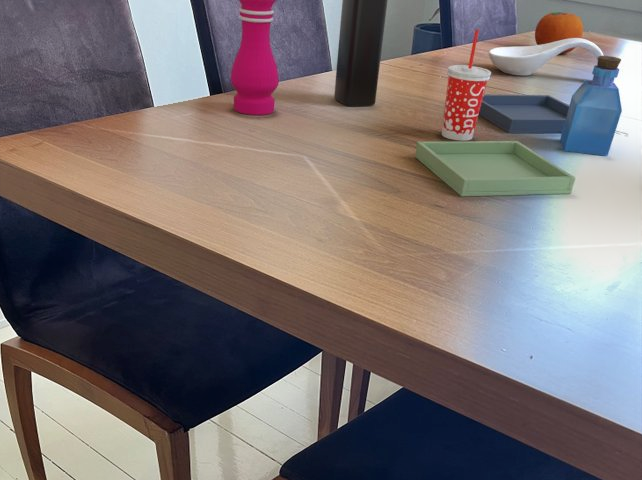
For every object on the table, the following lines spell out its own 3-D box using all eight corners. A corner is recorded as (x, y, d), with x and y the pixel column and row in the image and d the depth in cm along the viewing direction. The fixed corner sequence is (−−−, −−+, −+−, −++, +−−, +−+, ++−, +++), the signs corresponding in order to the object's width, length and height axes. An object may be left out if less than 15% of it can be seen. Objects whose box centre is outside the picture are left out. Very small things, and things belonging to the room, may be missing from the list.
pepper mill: (237, 101, 116) (239, -51, 103) (282, 107, 115) (289, -46, 103) (224, 112, 110) (224, -47, 98) (271, 118, 109) (277, -42, 97)
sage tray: (514, 155, 103) (517, 140, 102) (571, 193, 92) (575, 177, 91) (414, 156, 100) (417, 141, 98) (461, 196, 88) (464, 179, 87)
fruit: (575, 51, 175) (585, 12, 170) (578, 59, 167) (589, 19, 162) (530, 45, 176) (539, 7, 171) (531, 53, 168) (540, 13, 163)
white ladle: (484, 74, 146) (493, 34, 141) (485, 63, 155) (493, 25, 150) (606, 89, 143) (618, 48, 139) (599, 77, 152) (610, 38, 148)
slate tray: (545, 107, 128) (549, 95, 126) (594, 132, 116) (598, 119, 115) (466, 107, 124) (469, 94, 123) (508, 133, 112) (511, 119, 111)
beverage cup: (443, 141, 106) (463, 32, 98) (431, 129, 111) (449, 24, 102) (483, 142, 107) (506, 34, 99) (469, 130, 112) (490, 26, 103)
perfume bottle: (607, 156, 106) (636, 64, 99) (564, 150, 107) (589, 59, 100) (601, 144, 111) (628, 56, 104) (560, 139, 112) (584, 51, 104)
